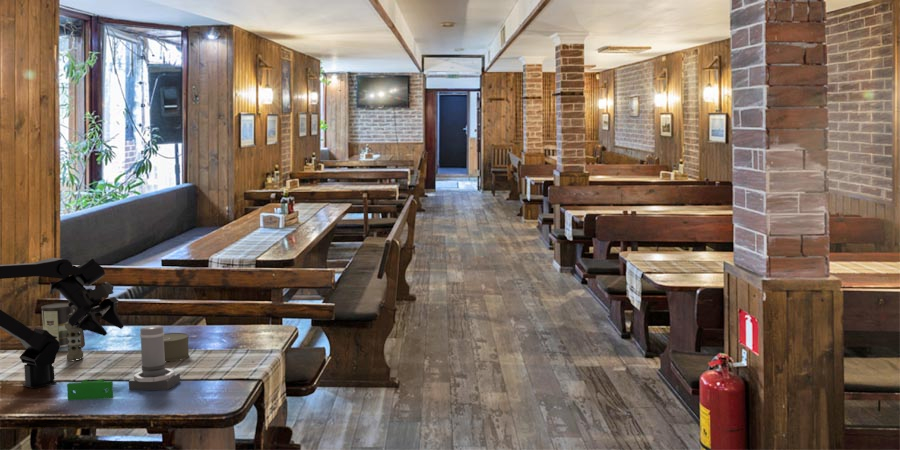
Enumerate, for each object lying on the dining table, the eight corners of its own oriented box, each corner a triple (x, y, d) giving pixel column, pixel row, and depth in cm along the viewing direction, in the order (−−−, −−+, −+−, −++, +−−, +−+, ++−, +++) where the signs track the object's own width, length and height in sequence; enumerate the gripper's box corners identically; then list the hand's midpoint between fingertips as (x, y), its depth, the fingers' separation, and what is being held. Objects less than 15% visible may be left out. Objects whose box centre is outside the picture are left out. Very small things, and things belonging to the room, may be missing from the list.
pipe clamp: (116, 394, 198) (115, 378, 197) (111, 399, 194) (111, 382, 194) (73, 396, 196) (72, 379, 196) (67, 400, 193) (66, 383, 192)
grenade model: (82, 361, 232) (79, 315, 230) (63, 360, 233) (60, 314, 232) (95, 356, 238) (93, 311, 237) (77, 355, 239) (75, 311, 238)
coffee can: (78, 340, 262) (75, 301, 261) (74, 346, 252) (72, 306, 251) (45, 342, 258) (43, 303, 257) (41, 349, 248) (38, 309, 247)
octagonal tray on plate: (127, 390, 200) (126, 378, 200) (144, 380, 210) (144, 368, 210) (165, 390, 200) (165, 378, 199) (181, 380, 210) (181, 368, 209)
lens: (145, 381, 200) (143, 331, 199) (139, 376, 205) (136, 327, 204) (169, 377, 204) (166, 328, 203) (162, 372, 209) (159, 324, 208)
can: (197, 354, 240) (196, 333, 239) (173, 363, 228) (172, 342, 228) (166, 352, 243) (165, 331, 243) (141, 361, 232) (140, 340, 231)
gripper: (75, 279, 203) (115, 318, 204) (110, 270, 222) (147, 305, 222) (50, 307, 205) (90, 346, 205) (87, 295, 223) (123, 331, 223)
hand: (114, 331), depth 214 cm, fingers open, 9 cm apart
